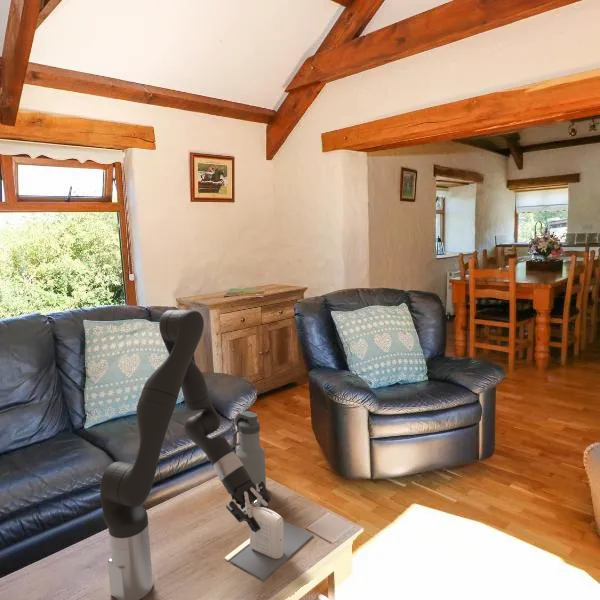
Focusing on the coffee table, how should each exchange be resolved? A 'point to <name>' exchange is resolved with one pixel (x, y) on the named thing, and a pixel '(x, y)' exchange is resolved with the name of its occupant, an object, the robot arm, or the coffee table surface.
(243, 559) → the mat
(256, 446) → the water bottle
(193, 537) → the coffee table surface
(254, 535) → the photo printer
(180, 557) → the coffee table surface
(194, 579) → the coffee table surface
